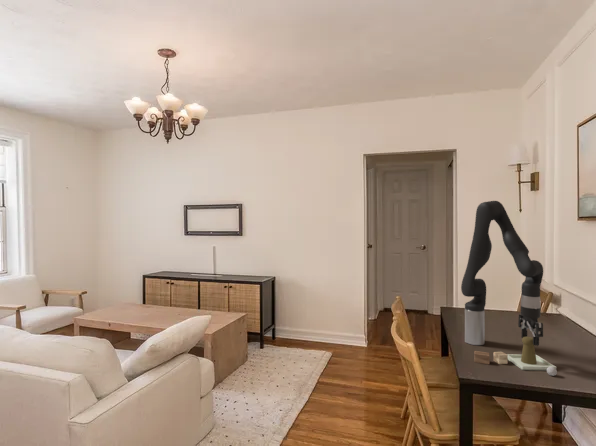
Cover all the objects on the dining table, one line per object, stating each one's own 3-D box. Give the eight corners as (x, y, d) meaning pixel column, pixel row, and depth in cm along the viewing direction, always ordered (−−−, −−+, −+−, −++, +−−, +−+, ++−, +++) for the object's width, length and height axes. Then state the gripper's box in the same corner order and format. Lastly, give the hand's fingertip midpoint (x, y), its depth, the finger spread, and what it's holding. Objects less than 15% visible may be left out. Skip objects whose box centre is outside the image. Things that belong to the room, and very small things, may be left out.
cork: (529, 359, 168) (529, 334, 168) (540, 364, 162) (540, 339, 162) (517, 359, 168) (517, 335, 167) (527, 364, 162) (527, 339, 161)
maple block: (493, 360, 168) (493, 352, 168) (501, 360, 169) (501, 351, 169) (499, 364, 164) (499, 355, 164) (507, 363, 165) (507, 354, 165)
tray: (505, 357, 172) (505, 354, 172) (536, 358, 171) (536, 354, 171) (522, 370, 158) (522, 366, 158) (556, 370, 157) (556, 366, 157)
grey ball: (544, 373, 154) (544, 365, 154) (553, 373, 154) (553, 365, 154) (550, 377, 151) (550, 368, 151) (558, 377, 150) (559, 368, 150)
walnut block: (474, 359, 170) (474, 350, 170) (488, 361, 168) (488, 352, 168) (474, 362, 166) (474, 353, 166) (489, 364, 164) (489, 355, 164)
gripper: (513, 301, 171) (512, 336, 172) (531, 309, 157) (531, 347, 158) (529, 301, 171) (528, 336, 172) (549, 309, 157) (549, 347, 157)
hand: (530, 341), depth 165 cm, fingers open, 8 cm apart
